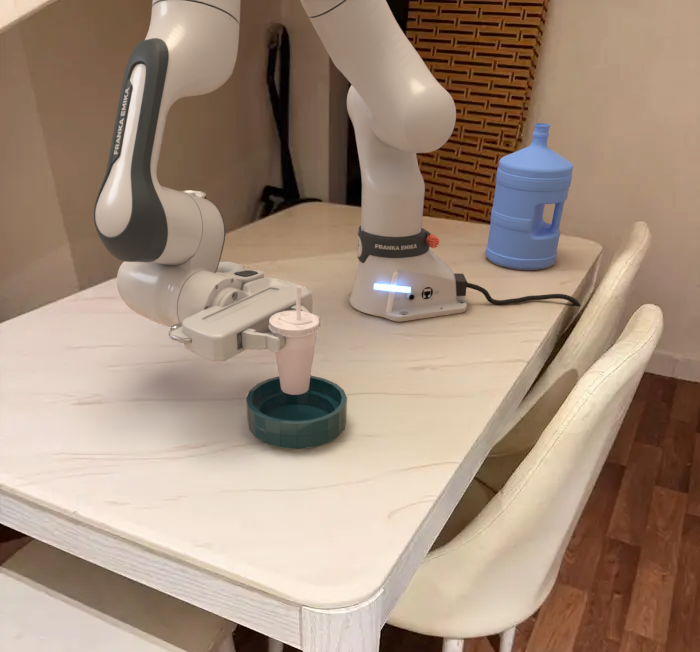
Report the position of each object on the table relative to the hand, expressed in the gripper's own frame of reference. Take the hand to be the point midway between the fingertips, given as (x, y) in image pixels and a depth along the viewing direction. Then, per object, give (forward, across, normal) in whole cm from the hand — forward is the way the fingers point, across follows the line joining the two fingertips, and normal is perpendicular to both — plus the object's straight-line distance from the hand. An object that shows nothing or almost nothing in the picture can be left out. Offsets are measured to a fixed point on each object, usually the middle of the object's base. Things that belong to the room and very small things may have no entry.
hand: (300, 333), depth 88 cm
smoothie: (-1, 0, +8) cm, 8 cm away
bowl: (-1, 0, +14) cm, 14 cm away
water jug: (-2, +88, +14) cm, 89 cm away
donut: (-45, +36, +14) cm, 60 cm away
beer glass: (-56, +40, +14) cm, 70 cm away
